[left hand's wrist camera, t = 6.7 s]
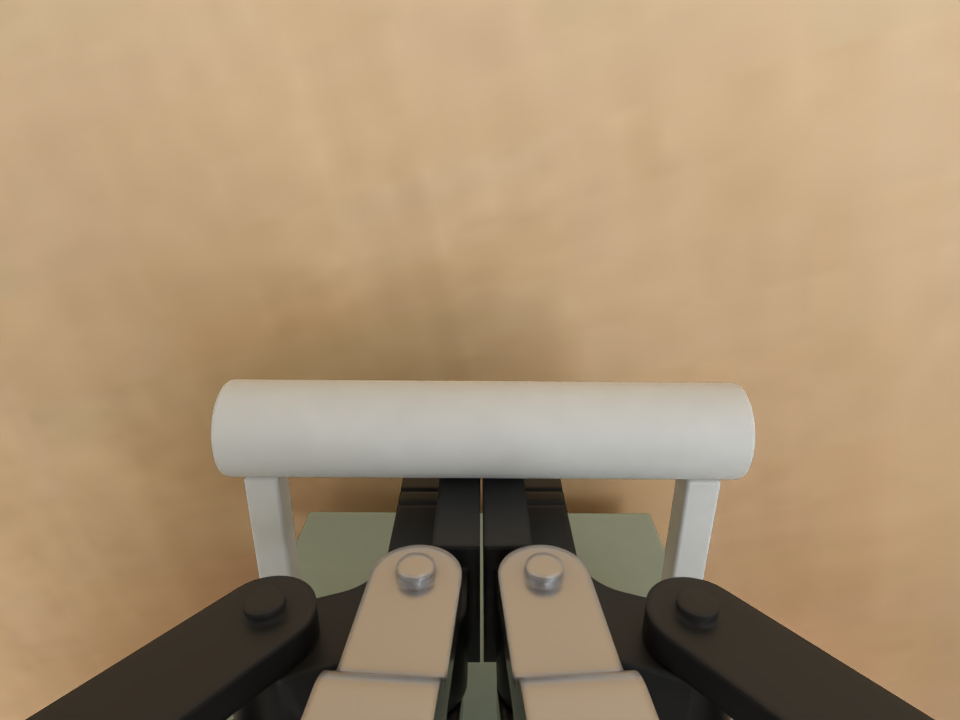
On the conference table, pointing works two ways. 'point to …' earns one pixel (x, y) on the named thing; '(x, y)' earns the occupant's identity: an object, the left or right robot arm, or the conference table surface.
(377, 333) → the conference table surface
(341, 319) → the conference table surface
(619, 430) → the drawer
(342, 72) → the conference table surface
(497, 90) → the conference table surface
